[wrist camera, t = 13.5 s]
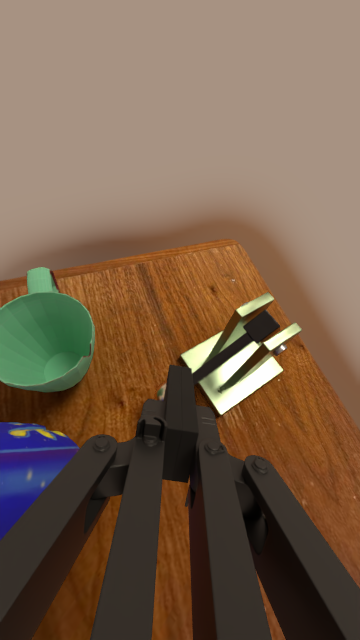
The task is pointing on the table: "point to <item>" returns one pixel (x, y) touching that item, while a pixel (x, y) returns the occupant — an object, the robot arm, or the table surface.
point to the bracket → (239, 359)
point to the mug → (45, 337)
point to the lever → (233, 348)
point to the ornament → (28, 466)
